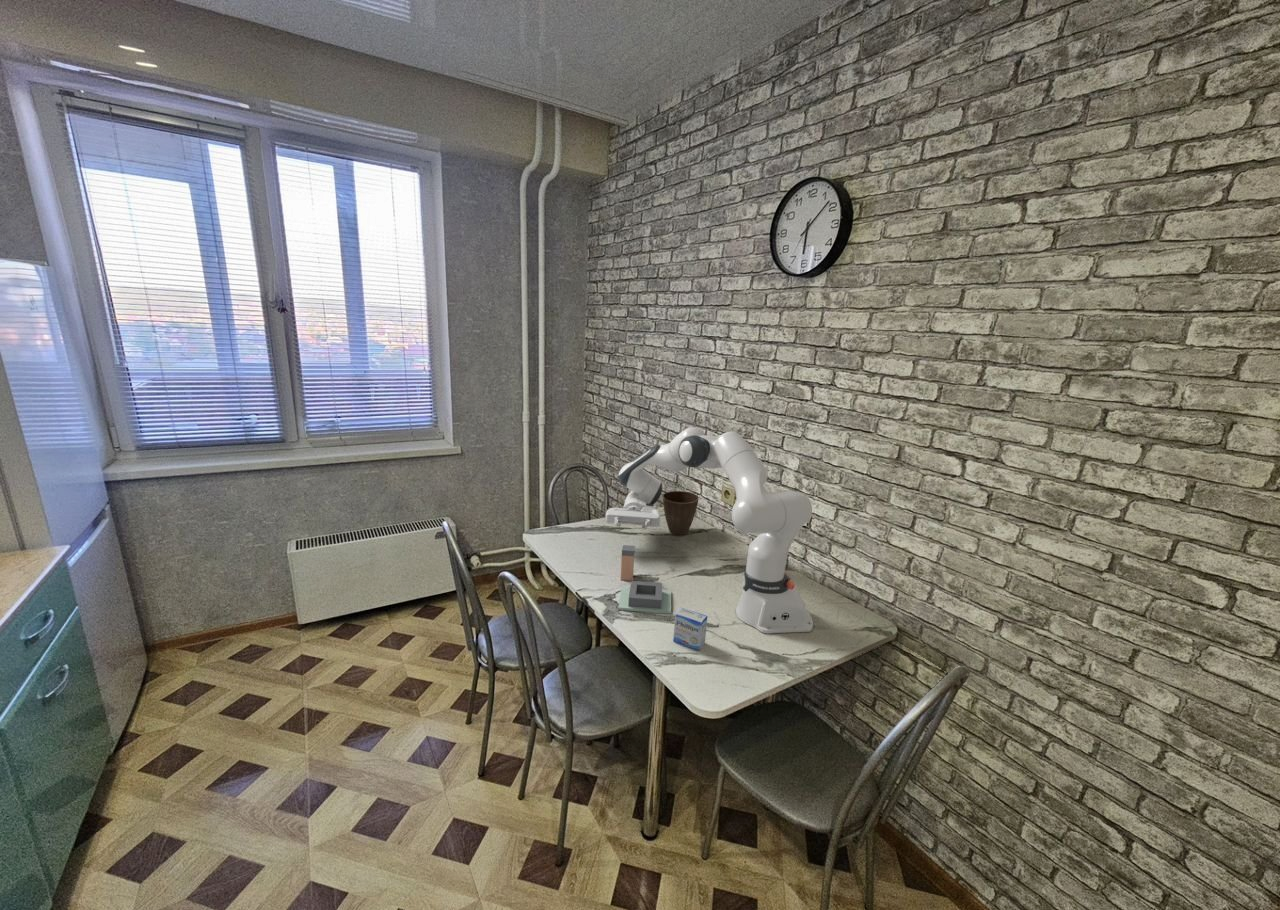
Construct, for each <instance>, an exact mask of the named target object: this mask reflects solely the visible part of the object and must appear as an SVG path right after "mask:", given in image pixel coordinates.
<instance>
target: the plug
mask: <svg viewBox="0 0 1280 910" xmlns="http://www.w3.org/2000/svg"><path fill="white" fill-rule="evenodd" d="M635 548H636V546H635V545H630V544H629V545H627V544H623V545H622V548H621V564H620V581H630V582H631V581H634V570H635V569H634V567H635V552H636V551H635Z"/></svg>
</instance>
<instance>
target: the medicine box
mask: <svg viewBox="0 0 1280 910" xmlns="http://www.w3.org/2000/svg"><path fill="white" fill-rule="evenodd" d="M707 623H708V615H705V614H703V613H700V612H697V611H694V610H691V609H688V608H684V607H682V606H681V607H680V608H679V609H678V610H677V612H676V613H675V616H674V628H673V636H672V637H673V638H672V641H673V642H674V643H676V644H679V645H682V646H685V647H688V648H691V649H693V650H696V651H700V650H701V649H702V647H703V646H704V644H705V643H706V635H707V634H706V633H707V627H708V626H707Z"/></svg>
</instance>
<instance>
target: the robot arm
mask: <svg viewBox="0 0 1280 910" xmlns="http://www.w3.org/2000/svg"><path fill="white" fill-rule="evenodd" d="M649 465H653V466H657V467H660V468H663V469H664V470H667V471H670V472H676V473H677V472H678V473H679V472H682V471H684V470H686V469H687V468H699V469H700V468H701V469H712V470H713V469H723V471H724V473H725V474H726V476H727V478H728V480H729V482H730V483H731V485H732V487H733V489H734V492H735V495H736V501H735V503H734V504H733V507H732V508H731V521H732V523H733V525H734V527H735V529H737V530H738V532H739V533H741V534H745V535H757V536H756V537H755V538H754V539H753V540H752V541H751V542H750V544H749V546H748V549H747V557H746V558H747V559H746V565H745V566H746V567H745V568H744V571H743V576H742V590H741V595H740V599H739V601H738V604H737V606H736V608H735V614H736V616H737V618H739V619H740V621H742V622H743V623H745V624H747V625H748V626H751V627H753V628H755V629H757V630H758V631H759V632H761V633H763V634H783V633H785V634H787V633H806V632H807V633H809V632H811V631H812V630H813V628H814V622H813V618H812V615H811V614H810V612H809V611H808V609H807V608H806V604H805V601H804V599H803V597H802V596H801V594H800V593H799V592H797V591H796V590H795V588H796V587H795V583H794V581H792V580H791V578H790V576H789V575H788V574H787V572H786V564H787V561H788V560H787V559H788V554H789V550H790V548H791V545H792V544H793V542H794V540H795V539H796V536H797V534H798V533H799V531H800V530H801V528H802V527H803V526H804V525H806V523H808V522H809V520H810V519H811V517H812V513H813V507H812V503H811V500H810V498H809V497H808V496H807V495H806V493H803V492H801V491H795V490H794V491H793V490H783V491H775V492H769V491H767V489H766V488H765V486H764V485H765V484H766V482H767V481H768V475H769V473H768V470H767V468H766V467H765V465H764V463H763V462H762V461H761V459H760V458H759V456H758V455H757V453H756V451H755V450H754V449H753V448H752V446H751V445H750V444H749V443H748V441H746V440H745V439H744V437H743V436H741V435H740V434H739V433H737V432H735V431H727V432H725V433H722V434H721V435H719V436H716V435H710V434H709V435H707V434H704V432H703V431H702V430H701V429H698V428H697V427H688V428H685V429H683V430H682V431H681V432H680V433H679V434H677V435H676V436H675V437H674V438H672V440H671V441H670V442H669V443H665V444H661V445H660V444H655V445H653V446H651V447H649V448H647V450H645V451H644V452H643V453H641V454H640V455H638V456H637V457H636V458H634V459H633V460H631V461H628V462H627V463H626V464H624V465H623V466H622V467H621V468H620V470H619V472H618V474H617V478H618V482H619V484H620V485H622V486H624V487H625V488H627V489H628V490H630V492H629V493H628V494H627V495H626V498H625V501H624V504H623V507H621V508H620V507H610V508H608V509H607V510H606V512H605V523H608V524H615V527H621V525H631V526H642V529H644V530H645V529H647V528H649V527H660V522H661V515H660V511H659V510H658V507H657V505H656V503H657V501H658V500H659V498H660V497H661V495H662V493H663V483H662V481H661V480H659V479H658V478H657V477H656V476H654V475H653V474H651V473H649V472H648V471H647V470H645V469H644V468H645V467H647V466H649Z"/></svg>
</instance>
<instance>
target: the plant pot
mask: <svg viewBox="0 0 1280 910" xmlns="http://www.w3.org/2000/svg"><path fill="white" fill-rule="evenodd" d="M662 504H663V505H662V506H663V512H664V516H665V521H666V524H667V528H668V531H669V533H670V534H671V535H673V536H677V537H683V536H686V535H688V532H689V531H690V529H691V526H692V524H693V521H694V518H695V516H696V511H697V508H698V504H699V496H698V495H697V494H695V493H693V492H688V491H684V490H683V491H682V490H674V491H672V490H671V491H668V492H664V493H663V494H662Z"/></svg>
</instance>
